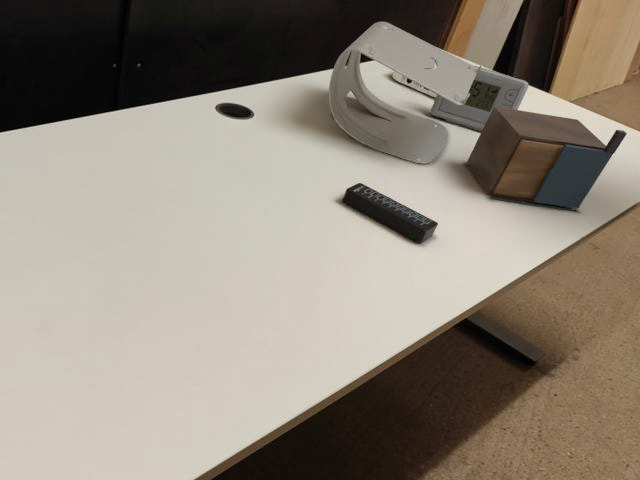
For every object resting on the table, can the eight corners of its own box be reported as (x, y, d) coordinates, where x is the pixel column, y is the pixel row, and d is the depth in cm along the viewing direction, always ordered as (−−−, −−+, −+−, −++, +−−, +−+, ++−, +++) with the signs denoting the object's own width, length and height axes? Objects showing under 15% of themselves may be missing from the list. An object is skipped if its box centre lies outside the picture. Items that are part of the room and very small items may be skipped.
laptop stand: (346, 93, 146) (371, 16, 135) (454, 127, 140) (489, 50, 129) (313, 130, 128) (339, 45, 117) (435, 170, 122) (474, 85, 111)
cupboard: (576, 211, 118) (614, 153, 111) (491, 199, 117) (523, 139, 109) (545, 175, 128) (577, 119, 121) (466, 163, 127) (493, 106, 119)
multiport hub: (419, 244, 101) (426, 231, 100) (340, 201, 108) (345, 188, 106) (433, 235, 104) (439, 223, 102) (355, 194, 110) (360, 181, 109)
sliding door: (578, 209, 117) (627, 133, 108) (533, 202, 117) (578, 125, 107) (576, 206, 118) (624, 130, 109) (531, 199, 117) (575, 123, 108)
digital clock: (424, 114, 143) (446, 63, 135) (437, 105, 148) (459, 55, 141) (499, 143, 137) (525, 91, 130) (509, 131, 143) (535, 81, 136)
